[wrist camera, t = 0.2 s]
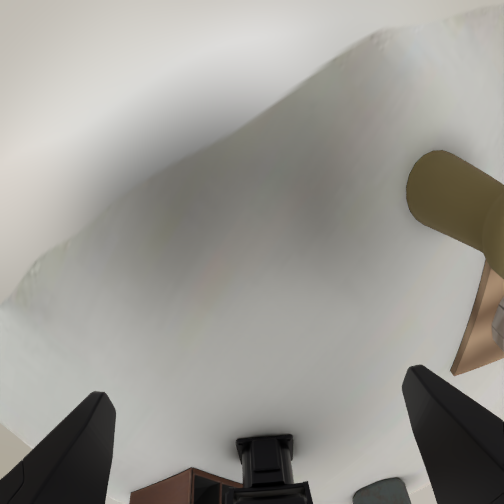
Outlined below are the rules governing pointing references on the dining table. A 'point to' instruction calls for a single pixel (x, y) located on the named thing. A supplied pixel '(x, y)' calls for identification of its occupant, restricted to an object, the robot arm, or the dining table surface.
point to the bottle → (383, 493)
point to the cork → (459, 203)
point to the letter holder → (186, 489)
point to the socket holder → (483, 326)
